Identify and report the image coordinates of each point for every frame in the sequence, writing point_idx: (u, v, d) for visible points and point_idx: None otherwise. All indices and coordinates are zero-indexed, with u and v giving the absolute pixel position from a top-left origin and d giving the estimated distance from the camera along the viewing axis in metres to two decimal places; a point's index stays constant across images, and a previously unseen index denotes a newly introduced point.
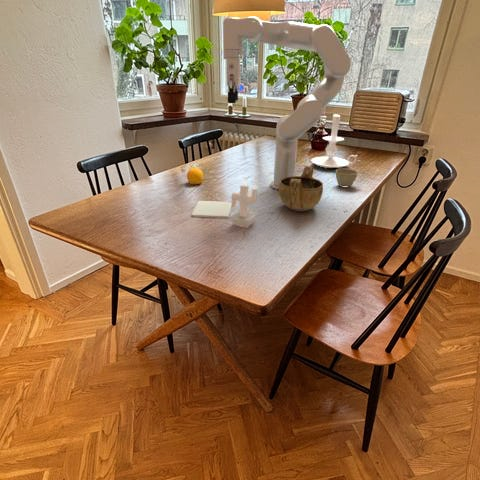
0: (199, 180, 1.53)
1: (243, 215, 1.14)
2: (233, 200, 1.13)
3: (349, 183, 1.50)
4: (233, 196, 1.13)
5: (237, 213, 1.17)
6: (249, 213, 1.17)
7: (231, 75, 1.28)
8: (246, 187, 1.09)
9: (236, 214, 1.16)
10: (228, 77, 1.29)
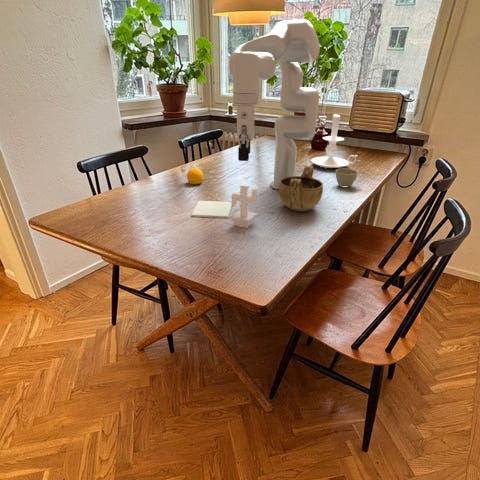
0: (199, 180, 1.53)
1: (243, 215, 1.14)
2: (233, 200, 1.13)
3: (349, 183, 1.50)
4: (233, 196, 1.13)
5: (237, 213, 1.17)
6: (249, 213, 1.17)
7: (243, 126, 0.96)
8: (246, 187, 1.09)
9: (236, 214, 1.16)
10: (239, 129, 0.97)
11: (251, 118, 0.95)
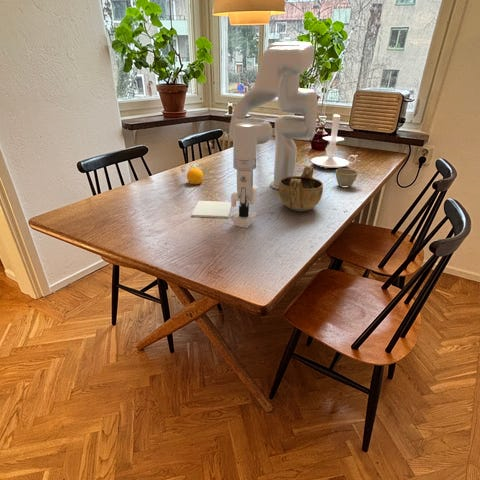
0: (199, 180, 1.53)
1: None
2: (233, 200, 1.13)
3: (349, 183, 1.50)
4: (232, 196, 1.12)
5: (237, 213, 1.17)
6: (249, 213, 1.17)
7: (243, 191, 1.06)
8: None
9: (236, 214, 1.16)
10: (239, 190, 1.06)
11: (250, 181, 1.05)
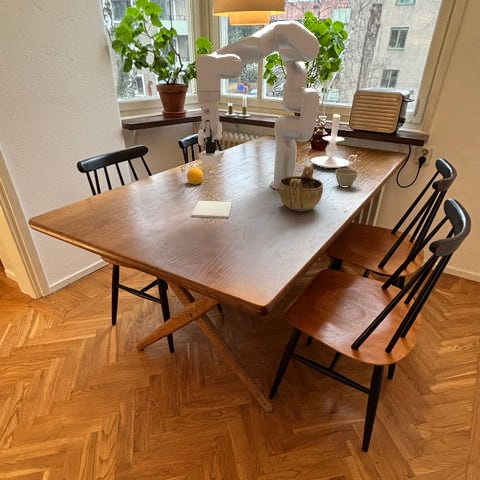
0: (199, 180, 1.53)
1: None
2: (199, 137, 1.16)
3: (349, 183, 1.50)
4: (199, 132, 1.15)
5: (205, 151, 1.19)
6: (216, 151, 1.19)
7: (207, 124, 1.08)
8: None
9: (203, 152, 1.18)
10: (204, 123, 1.08)
11: (213, 113, 1.07)
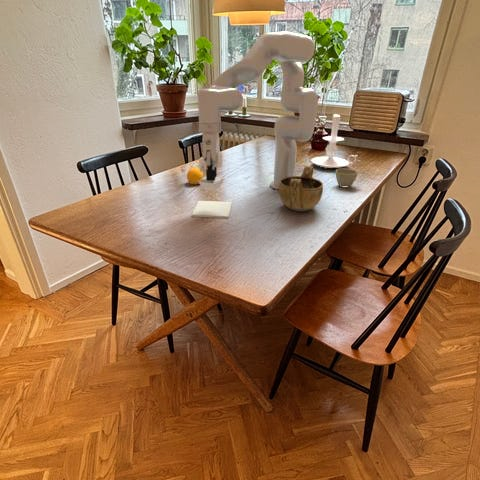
0: None
1: None
2: (200, 165, 1.20)
3: (349, 183, 1.50)
4: (200, 160, 1.19)
5: (205, 178, 1.24)
6: (217, 178, 1.24)
7: (208, 153, 1.13)
8: None
9: (204, 178, 1.23)
10: (205, 153, 1.13)
11: (214, 144, 1.12)
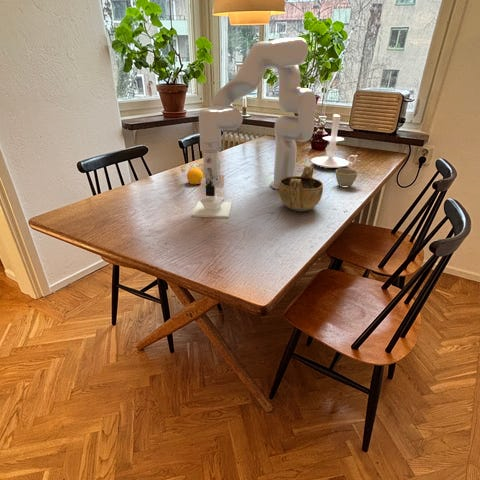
0: (199, 180, 1.53)
1: (212, 199, 1.25)
2: (202, 185, 1.24)
3: (349, 183, 1.50)
4: (202, 181, 1.23)
5: (207, 198, 1.28)
6: (218, 197, 1.28)
7: (209, 169, 1.15)
8: None
9: (206, 198, 1.27)
10: (205, 171, 1.16)
11: (215, 162, 1.15)
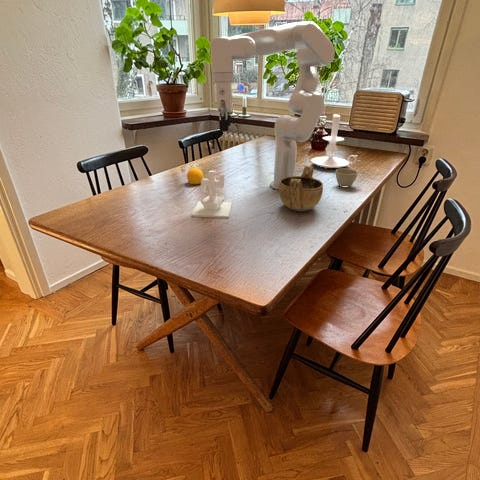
0: (199, 180, 1.53)
1: (212, 199, 1.25)
2: (202, 185, 1.24)
3: (349, 183, 1.50)
4: (202, 181, 1.23)
5: (207, 198, 1.28)
6: (218, 197, 1.28)
7: (222, 101, 1.14)
8: (214, 173, 1.20)
9: (206, 198, 1.27)
10: (219, 103, 1.14)
11: (228, 94, 1.13)
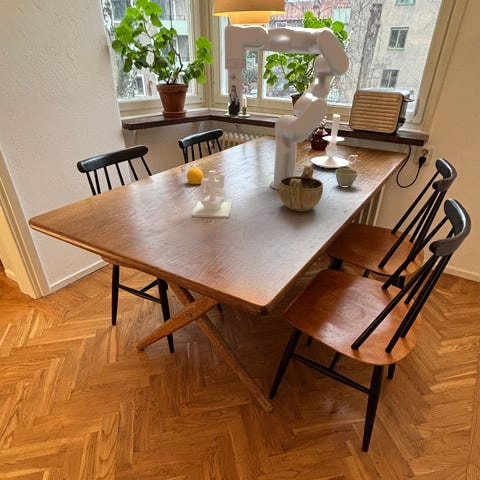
0: (199, 180, 1.53)
1: (212, 199, 1.25)
2: (202, 185, 1.24)
3: (349, 183, 1.50)
4: (202, 181, 1.23)
5: (207, 198, 1.28)
6: (218, 197, 1.28)
7: (233, 86, 1.19)
8: (214, 173, 1.20)
9: (206, 198, 1.27)
10: (230, 88, 1.20)
11: (239, 79, 1.19)
